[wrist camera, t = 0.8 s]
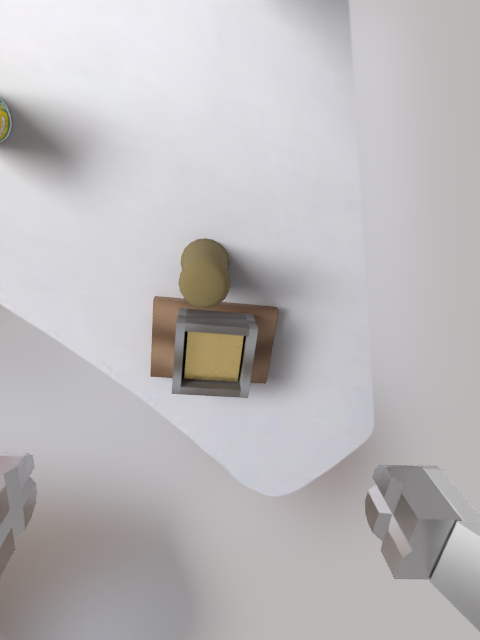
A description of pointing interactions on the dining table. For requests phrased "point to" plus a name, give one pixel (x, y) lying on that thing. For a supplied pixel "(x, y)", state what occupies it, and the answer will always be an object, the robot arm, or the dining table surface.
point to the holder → (224, 318)
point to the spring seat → (213, 356)
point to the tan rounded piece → (204, 273)
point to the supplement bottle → (4, 121)
